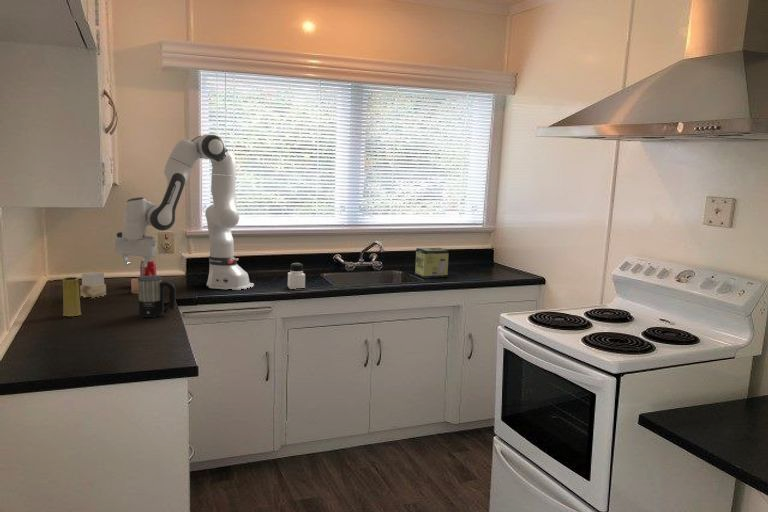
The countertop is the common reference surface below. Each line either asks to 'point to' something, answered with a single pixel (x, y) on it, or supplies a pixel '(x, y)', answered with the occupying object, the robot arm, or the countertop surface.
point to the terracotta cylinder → (134, 286)
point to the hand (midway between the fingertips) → (135, 265)
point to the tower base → (93, 291)
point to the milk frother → (154, 296)
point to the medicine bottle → (296, 276)
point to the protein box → (431, 262)
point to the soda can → (148, 268)
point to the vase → (71, 297)
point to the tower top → (92, 279)
